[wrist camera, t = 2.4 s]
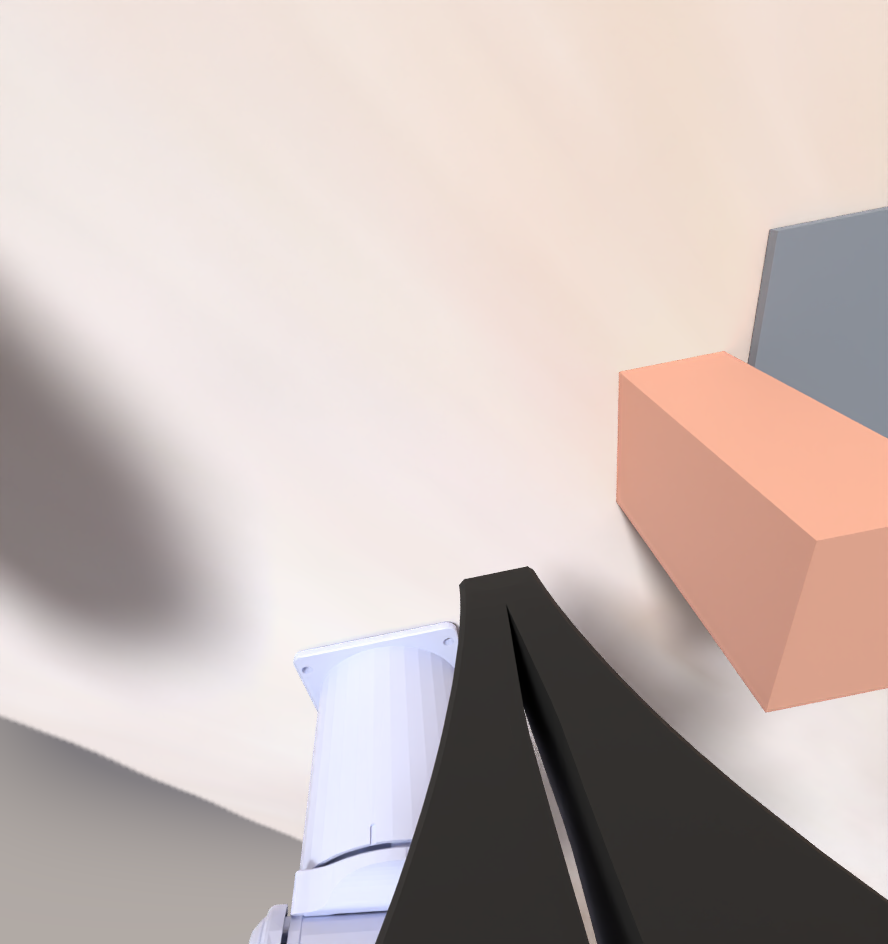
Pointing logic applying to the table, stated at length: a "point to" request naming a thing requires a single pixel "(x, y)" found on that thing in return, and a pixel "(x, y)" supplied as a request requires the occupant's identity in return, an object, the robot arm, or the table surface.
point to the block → (762, 522)
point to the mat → (828, 314)
